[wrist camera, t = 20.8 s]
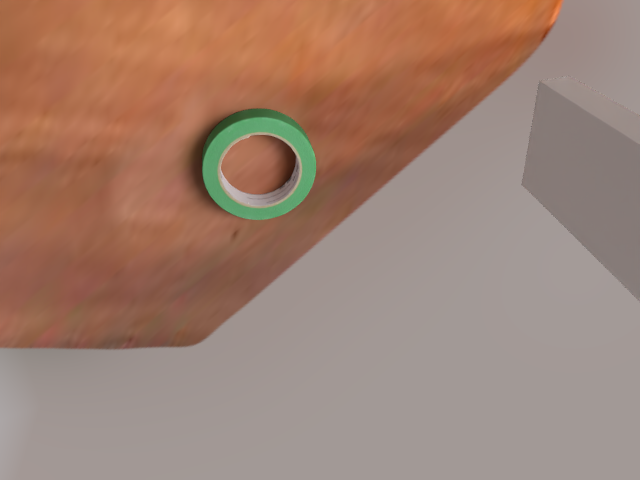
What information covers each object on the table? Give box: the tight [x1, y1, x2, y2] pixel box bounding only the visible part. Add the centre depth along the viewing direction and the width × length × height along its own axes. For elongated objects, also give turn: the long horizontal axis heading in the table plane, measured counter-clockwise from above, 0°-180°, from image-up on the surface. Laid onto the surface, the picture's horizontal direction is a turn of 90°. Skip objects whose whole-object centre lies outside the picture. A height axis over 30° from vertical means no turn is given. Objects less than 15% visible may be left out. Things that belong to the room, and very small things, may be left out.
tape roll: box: [202, 109, 316, 220], centre depth 51 cm, size 11×11×3 cm
